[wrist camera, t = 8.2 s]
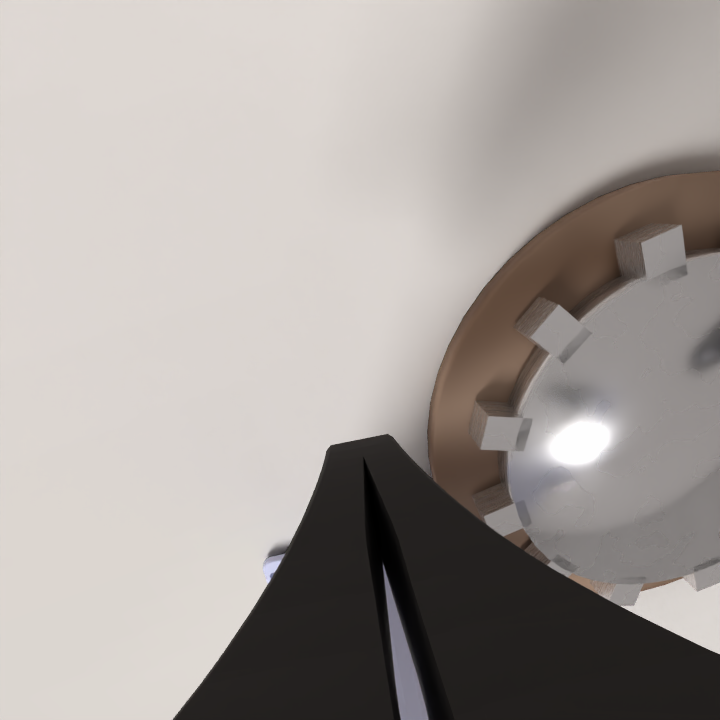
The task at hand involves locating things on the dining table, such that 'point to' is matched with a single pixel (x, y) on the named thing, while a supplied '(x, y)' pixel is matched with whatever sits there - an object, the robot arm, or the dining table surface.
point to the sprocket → (617, 425)
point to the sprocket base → (559, 285)
